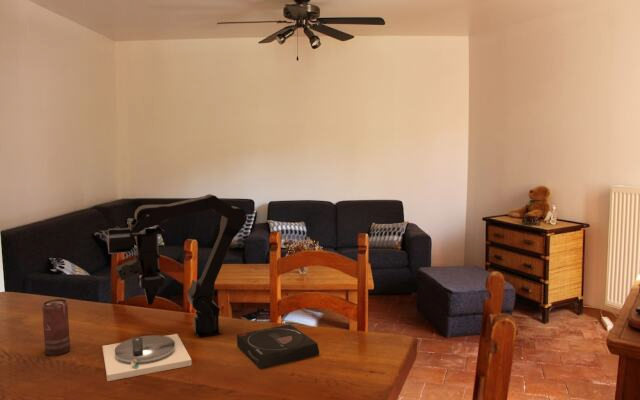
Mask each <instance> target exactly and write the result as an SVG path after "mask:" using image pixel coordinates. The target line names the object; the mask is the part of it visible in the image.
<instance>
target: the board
mask: <svg viewBox="0 0 640 400" xmlns="http://www.w3.org/2000/svg"><path fill="white" fill-rule="evenodd" d="M165 336H166V337H169V338H171V339H173V340H174V342H175V350H174V352H173V353H172V354H170V355H169V356H167V357H165V358H163V359H160V360H157V361H153V362H148V363H139V364H135V365H131V363H124V362H121V361H118V360H117V359H116V358H115V348H116V347H117V346H118V345H119V344H120V343H121V342H117V343H112V344H108V345H106V344H105V345H102V354H103V361H104V367H105V368H104V369H105V373H106V374H105V375H106V381H107V382H111V381H118V380H120V379H128V378H133V377H137V376H142V375H147V374H148V375H149V374H154V373H159V372H164V371H170V370H174V369H179V368H181V369H182V368H184V367H192V363H193V362H192V358H191V356H190V354H189V353H188V351H187V349H186V347H185V345H184V343H183V342H182V340H181V338H180V336H179V334H178V333H173V334H168V335H165Z"/></svg>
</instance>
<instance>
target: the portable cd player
mask: <svg viewBox="0 0 640 400" xmlns="http://www.w3.org/2000/svg"><path fill="white" fill-rule="evenodd" d="M236 345H237V346H236V348H238V349H239V350H240V351H241V352H242V353H243V354H244V355H245V356H246V357H247V358H248V359H249V361H251V362H252V363H253V364H254V365H255V366H256V368H258V369H259V370H263V369H267V368H271V367H276V366H280V365H283V363H284V364H288V363H291V362H297V361H301V360H306V359H309V358H313V357H318V356H319V354H320V349H319V345H318V342H316V341H315V340H313V338H310V337H309V336H308V335H306V334H305V333H303V332H302V331H301V330H299V329H298V328H297V327H295V326H293V325H292V324H283V325H279V326H278V325H277V326H274V327H268V328H263V329H259V330H258V329H257V330H253V331H249V332H242V333H238V334H236ZM275 365H276V366H275Z"/></svg>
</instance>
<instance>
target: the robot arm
mask: <svg viewBox="0 0 640 400" xmlns="http://www.w3.org/2000/svg"><path fill="white" fill-rule="evenodd" d="M207 210H211V211H213V212H215V213H216V214H218V215H219V216H221V219H220V222H219V233H218V236H217V238H216V241H215V242H214V245H213V246H212V247H213V248H212V249H211V252H210V255H209V257H208V259H207V262H206V264H205V266H204V269H203V271H202V273H201V276H200V277H199V278H198V279H197V280H194V279H191V284H190V286H189V288H188V290H187V291H186V293H187V300H188V302H189V304H190V305H191V307H192V308H193V309H194V310H195V312H194V313H195V317H193V331H194V333H195V334H196V335H197V336H198V338H203V337H210V336H216V335H221V331H220V325H219V324H220V322H219V320H220V319H219V313H220V309H221V308H219V306H218V305H217V304H216V302H214V300H213V299H214V295H215V294H214V293H215V285H216V284H215V283H216V281H217V278H218V276H219V274H220V271H221V269H222V266H223V264H224V261H225V260H226V257H227V254H228V252H229V250H230V247H231V245H232V243H233V240H234V238H236V236H237V235H238V234H239V233H240V232H241V231H242V228H244V227H245V226H244V225H245V224H246V223H247V219H248V217H247V214H246V212H245V211H244V209H242V208H239V207H237V206H234V205H229V204H227V203H226V202H225V201H223V200H221V199H220V198H218V196H216V195H213V194H209V193H208V194H205V195H204V196H199V197H194V198H189V199H185V200H180V201H176V202H172V203H168V204H166V203H165V204H142V205H140V206H138V207H137V208H136V209H135V211H134V218H133V219H132V221H131V222H130V223H129V225H128V226H127V227H126V228H125V227H124V228H108V229H107V232H108V233H107V237H108V239H107V251H108V255H112V254H125V253H131V250H132V251H133V249H135V248H136V253H135V254H134V256H135V258H134V259H132V260H129V261H127V262H125V263H122V264H120V265H118V266H116V267H115V271H116V273H117V275H118V277H119V279H120V281H125V280H127V278H130V277H132V276H139V278H136V281H137V282H138V285H139V287H140V289H143V291H144V294H145V298H146V302H147V304H148V306H150V305H153V304H154V301H155V299H156V296H157V293H158V292H159V290H160V289H159V288H160V287H165V286H166V278H165V276H163V275H162V274H161V268H160V258H161V255H160V252H159V235H164V234H166V232H165V230H164V229H162V228H161V226H160V224H162V223H164V222H166V221H168V220H171V219H173V218H176V217H181V216H186V215H189V214H195V213H198V212H202V211H207ZM135 237H136V242H135ZM135 245H136V247H135Z"/></svg>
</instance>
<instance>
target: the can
mask: <svg viewBox="0 0 640 400" xmlns="http://www.w3.org/2000/svg"><path fill="white" fill-rule="evenodd" d="M68 305H69V304H68V302H67V300H66V299H61V298H59V299H51V300H47V301H45V302H43V304H42V307H41V309H42V310H41V312H42V323H43V324H42V325H43V326H42V327H43V340H44V352H45V354H46V355H48V356H52V357H55V356H61V355H64V354H66V353H68V352H69V351H70V350H71V340H70V339H71V338H70V324H69V308H68Z"/></svg>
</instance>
